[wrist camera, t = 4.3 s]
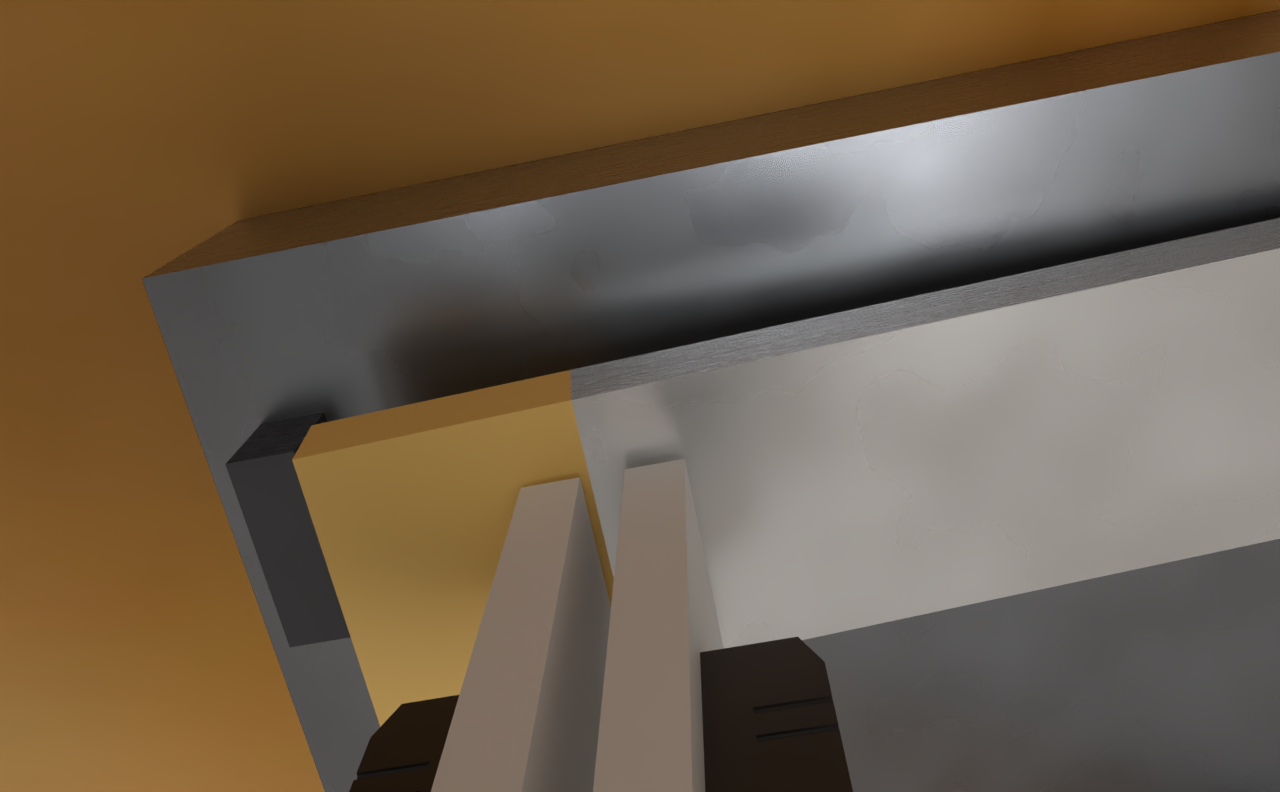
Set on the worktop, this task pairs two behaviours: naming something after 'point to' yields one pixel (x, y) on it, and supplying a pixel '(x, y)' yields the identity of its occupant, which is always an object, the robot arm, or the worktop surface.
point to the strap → (843, 455)
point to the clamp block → (765, 297)
